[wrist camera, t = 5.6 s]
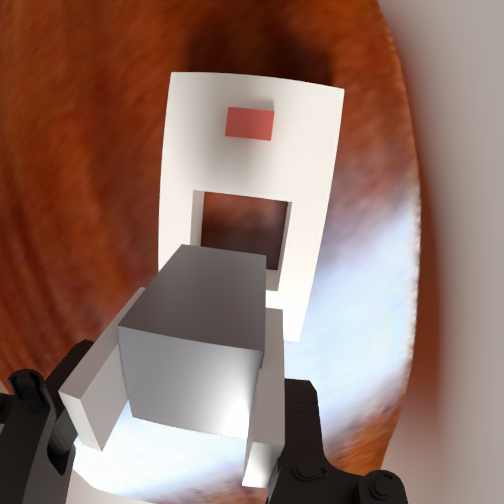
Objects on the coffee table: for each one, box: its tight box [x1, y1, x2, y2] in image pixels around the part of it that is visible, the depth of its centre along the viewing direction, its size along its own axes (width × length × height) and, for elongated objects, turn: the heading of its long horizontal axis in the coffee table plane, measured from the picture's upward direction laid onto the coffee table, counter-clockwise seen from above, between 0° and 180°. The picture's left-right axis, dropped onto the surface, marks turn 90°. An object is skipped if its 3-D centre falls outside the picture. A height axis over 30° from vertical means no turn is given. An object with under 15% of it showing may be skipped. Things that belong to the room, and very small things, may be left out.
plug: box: [117, 244, 266, 439], centre depth 13 cm, size 4×4×8 cm
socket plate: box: [159, 72, 344, 341], centre depth 23 cm, size 20×12×5 cm, turn 173°
